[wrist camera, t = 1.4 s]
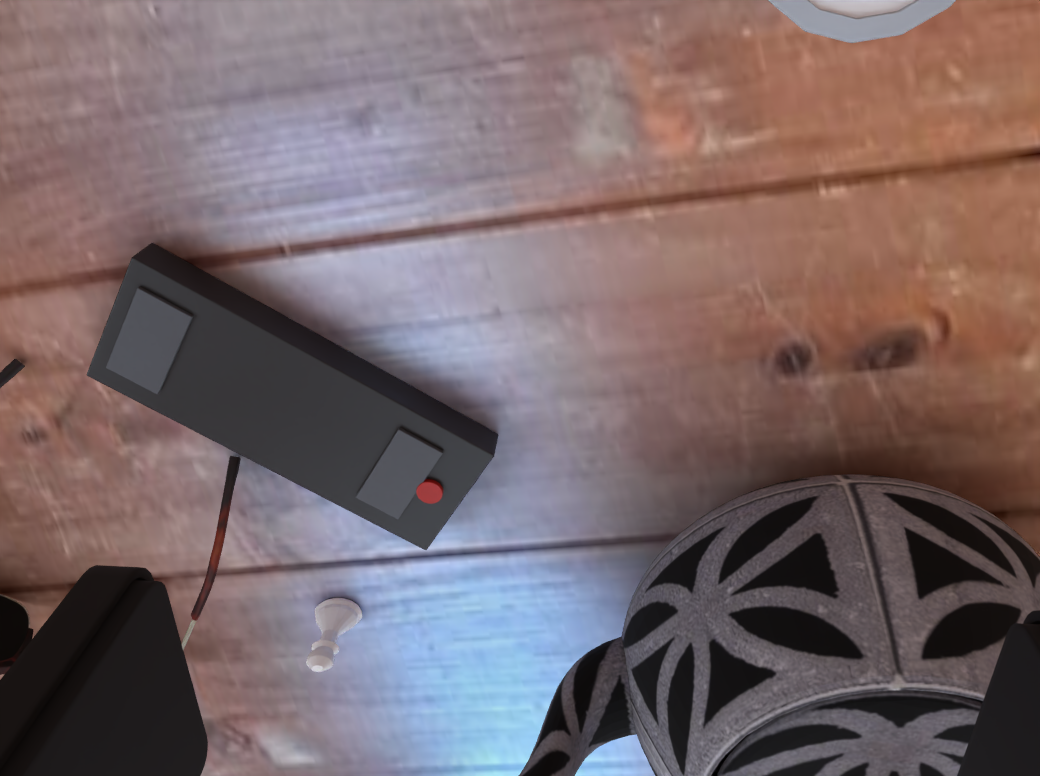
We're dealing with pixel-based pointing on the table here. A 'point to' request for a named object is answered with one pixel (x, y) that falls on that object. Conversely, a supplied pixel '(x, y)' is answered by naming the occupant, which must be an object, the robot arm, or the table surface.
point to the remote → (287, 398)
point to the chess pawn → (332, 630)
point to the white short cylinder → (860, 16)
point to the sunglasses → (7, 622)
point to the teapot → (805, 637)
